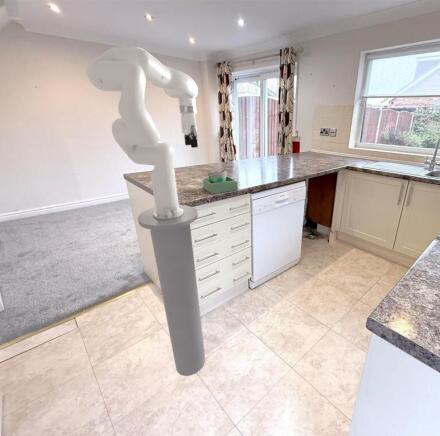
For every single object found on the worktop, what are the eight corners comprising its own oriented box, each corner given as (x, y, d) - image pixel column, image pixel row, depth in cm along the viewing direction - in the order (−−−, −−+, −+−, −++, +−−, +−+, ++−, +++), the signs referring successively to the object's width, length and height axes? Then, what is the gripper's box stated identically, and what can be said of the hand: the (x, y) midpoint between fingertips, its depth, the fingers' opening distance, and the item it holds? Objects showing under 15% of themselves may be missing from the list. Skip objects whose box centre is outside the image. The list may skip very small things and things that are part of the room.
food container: (214, 191, 142) (213, 174, 138) (208, 188, 146) (207, 172, 142) (231, 187, 150) (231, 171, 146) (225, 185, 154) (224, 169, 150)
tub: (237, 189, 148) (237, 180, 146) (211, 194, 140) (210, 184, 137) (228, 184, 158) (228, 176, 156) (203, 188, 149) (202, 179, 147)
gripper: (175, 109, 125) (179, 144, 132) (185, 110, 112) (189, 148, 119) (189, 110, 129) (193, 144, 136) (201, 110, 116) (204, 148, 123)
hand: (191, 146), depth 127 cm, fingers open, 9 cm apart
